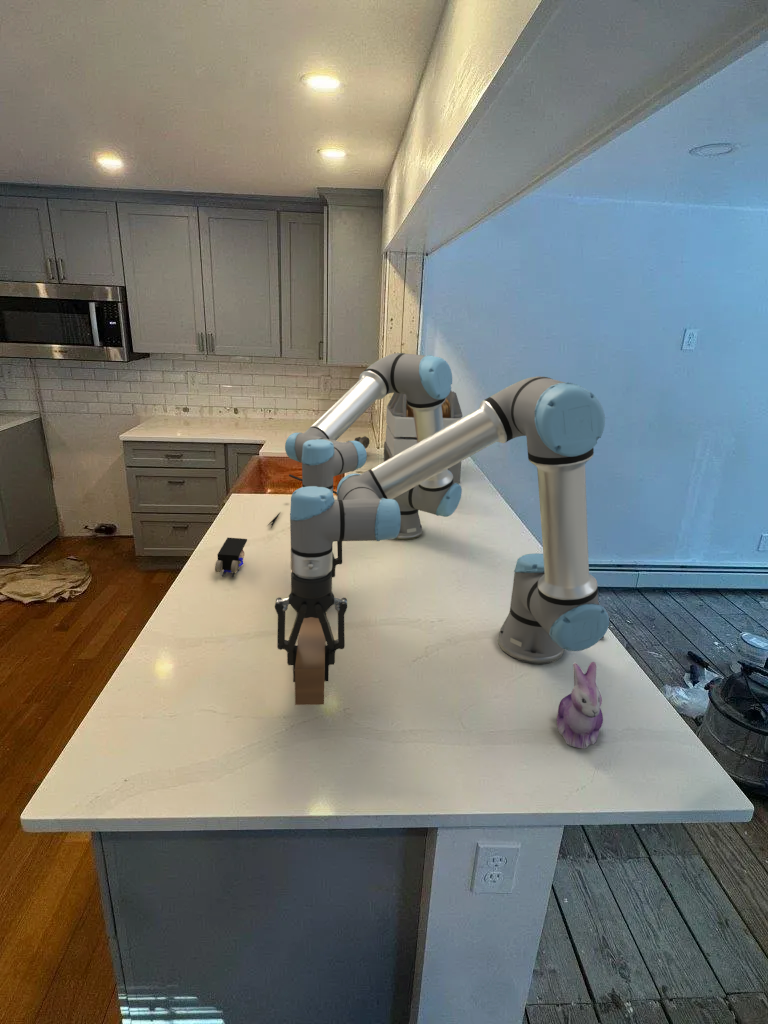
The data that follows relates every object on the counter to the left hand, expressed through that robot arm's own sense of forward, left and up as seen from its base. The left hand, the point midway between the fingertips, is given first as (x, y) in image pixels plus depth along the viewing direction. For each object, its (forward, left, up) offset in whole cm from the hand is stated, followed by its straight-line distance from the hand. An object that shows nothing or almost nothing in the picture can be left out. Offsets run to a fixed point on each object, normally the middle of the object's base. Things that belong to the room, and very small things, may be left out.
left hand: (317, 587), depth 147 cm
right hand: (+31, -22, 0) cm, 38 cm away
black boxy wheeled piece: (-33, -8, -6) cm, 34 cm away
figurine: (+70, +13, -6) cm, 71 cm away
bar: (+16, -11, 0) cm, 19 cm away
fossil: (-120, +108, -6) cm, 162 cm away
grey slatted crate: (-78, +113, -6) cm, 138 cm away
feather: (-64, +27, -6) cm, 70 cm away
